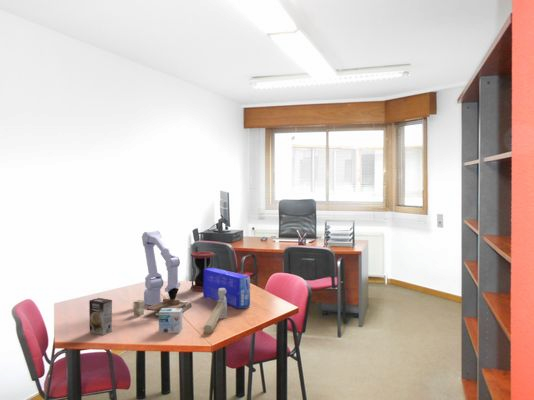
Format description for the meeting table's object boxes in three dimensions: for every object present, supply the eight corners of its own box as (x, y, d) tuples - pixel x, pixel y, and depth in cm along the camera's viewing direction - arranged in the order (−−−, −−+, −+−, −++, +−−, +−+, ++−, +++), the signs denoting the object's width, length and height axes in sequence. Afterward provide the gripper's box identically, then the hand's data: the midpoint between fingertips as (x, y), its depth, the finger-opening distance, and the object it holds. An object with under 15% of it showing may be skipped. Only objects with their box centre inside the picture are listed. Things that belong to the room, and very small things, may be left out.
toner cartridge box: (250, 307, 263) (250, 276, 263) (239, 309, 258) (239, 278, 257) (213, 294, 293) (213, 266, 292) (203, 296, 287) (202, 268, 286)
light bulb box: (158, 333, 217) (158, 311, 216) (161, 328, 224) (161, 307, 223) (180, 333, 217) (180, 311, 216) (182, 328, 224) (182, 307, 223)
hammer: (211, 315, 214) (226, 287, 242) (202, 315, 214) (218, 287, 243) (213, 344, 218) (228, 313, 246) (204, 343, 219) (220, 312, 247)
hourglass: (210, 285, 318) (210, 250, 317) (217, 290, 303) (217, 254, 302) (188, 287, 311) (188, 252, 310) (194, 292, 296) (194, 255, 295)
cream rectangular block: (133, 315, 245) (133, 301, 244) (137, 313, 249) (137, 299, 248) (139, 316, 244) (139, 302, 243) (143, 314, 247) (143, 300, 247)
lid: (146, 310, 245) (146, 303, 245) (160, 303, 259) (160, 297, 259) (173, 312, 240) (173, 306, 240) (185, 305, 254) (185, 299, 254)
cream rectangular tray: (148, 314, 247) (148, 309, 247) (167, 304, 267) (167, 299, 267) (174, 317, 242) (174, 311, 242) (191, 307, 262) (191, 302, 262)
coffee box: (88, 332, 217) (88, 300, 216) (98, 328, 223) (98, 297, 222) (103, 335, 213) (102, 302, 213) (112, 331, 219) (112, 299, 218)
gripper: (172, 281, 248) (172, 305, 248) (184, 275, 262) (184, 298, 262) (161, 280, 250) (161, 304, 250) (174, 275, 264) (174, 297, 264)
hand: (172, 301), depth 256 cm, fingers closed
